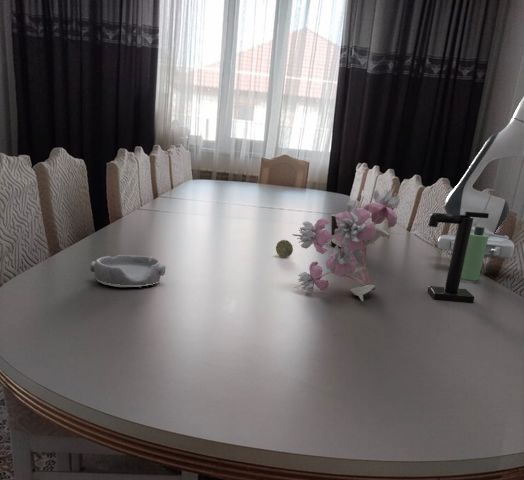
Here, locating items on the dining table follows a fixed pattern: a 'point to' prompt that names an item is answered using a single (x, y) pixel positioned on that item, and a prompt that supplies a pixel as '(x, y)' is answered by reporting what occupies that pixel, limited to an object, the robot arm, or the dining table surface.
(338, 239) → the flower
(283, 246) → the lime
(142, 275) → the dish
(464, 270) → the soap bottle
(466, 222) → the faucet
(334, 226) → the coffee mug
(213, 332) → the dining table surface
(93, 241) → the dining table surface
